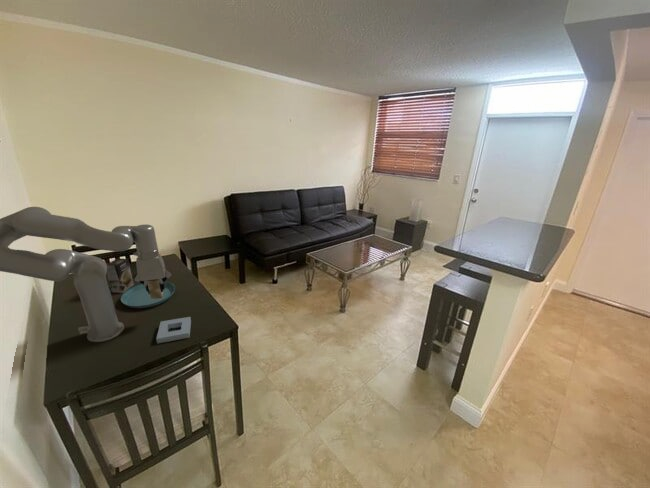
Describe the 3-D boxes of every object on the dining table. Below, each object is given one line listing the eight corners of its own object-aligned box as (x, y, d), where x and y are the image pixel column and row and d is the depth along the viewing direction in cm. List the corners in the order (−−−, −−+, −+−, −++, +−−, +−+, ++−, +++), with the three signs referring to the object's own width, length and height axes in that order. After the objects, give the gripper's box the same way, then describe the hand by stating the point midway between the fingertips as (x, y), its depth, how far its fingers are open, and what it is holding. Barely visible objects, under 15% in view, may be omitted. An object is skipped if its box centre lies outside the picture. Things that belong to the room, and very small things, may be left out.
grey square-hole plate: (157, 343, 115) (156, 338, 114) (161, 326, 126) (160, 321, 125) (189, 337, 119) (188, 332, 119) (191, 321, 130) (190, 316, 129)
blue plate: (117, 296, 147) (115, 290, 146) (167, 282, 163) (166, 277, 162) (128, 317, 131) (126, 311, 130) (182, 299, 147) (181, 293, 146)
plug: (151, 299, 124) (147, 281, 121) (152, 294, 128) (148, 277, 124) (161, 297, 125) (158, 280, 122) (163, 293, 129) (159, 275, 126)
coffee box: (123, 293, 149) (116, 265, 144) (111, 292, 149) (104, 265, 144) (134, 284, 158) (128, 258, 152) (123, 284, 158) (116, 258, 152)
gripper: (122, 259, 113) (132, 298, 119) (169, 255, 119) (176, 292, 125) (127, 252, 119) (136, 290, 126) (171, 248, 125) (177, 284, 132)
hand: (156, 291), depth 125 cm, fingers closed on plug, 4 cm apart
